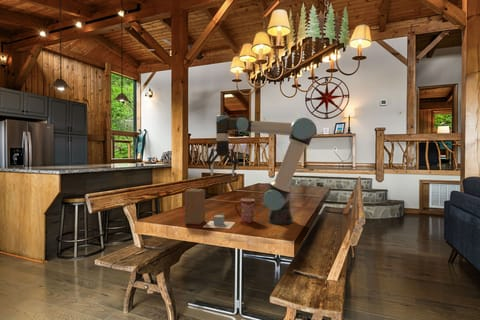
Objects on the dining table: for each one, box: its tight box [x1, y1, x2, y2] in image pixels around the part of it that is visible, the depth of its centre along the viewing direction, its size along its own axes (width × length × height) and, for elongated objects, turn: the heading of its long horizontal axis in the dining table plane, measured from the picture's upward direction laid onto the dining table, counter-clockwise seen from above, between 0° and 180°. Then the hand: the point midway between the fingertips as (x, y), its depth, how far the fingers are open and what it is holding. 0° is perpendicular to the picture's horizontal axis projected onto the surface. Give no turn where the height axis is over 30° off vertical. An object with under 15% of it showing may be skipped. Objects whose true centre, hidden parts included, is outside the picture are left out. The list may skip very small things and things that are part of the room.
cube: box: [213, 214, 225, 226], centre depth 164 cm, size 5×5×5 cm
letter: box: [202, 220, 236, 230], centre depth 164 cm, size 16×14×1 cm
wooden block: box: [184, 188, 206, 226], centre depth 169 cm, size 10×10×20 cm
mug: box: [234, 198, 255, 223], centre depth 173 cm, size 13×9×14 cm
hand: (222, 175), depth 170 cm, fingers open, 13 cm apart
